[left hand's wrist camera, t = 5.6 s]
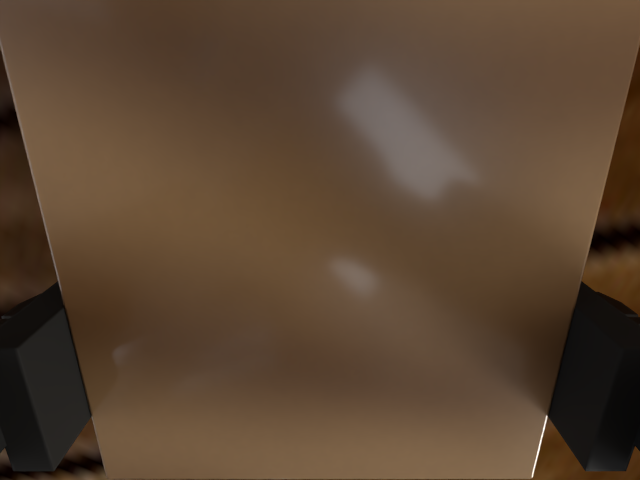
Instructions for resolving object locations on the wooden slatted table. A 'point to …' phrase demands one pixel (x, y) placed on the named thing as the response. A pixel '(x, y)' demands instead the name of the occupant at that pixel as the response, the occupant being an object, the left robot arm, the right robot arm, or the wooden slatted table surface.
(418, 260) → the cabinet
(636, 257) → the wooden slatted table surface
